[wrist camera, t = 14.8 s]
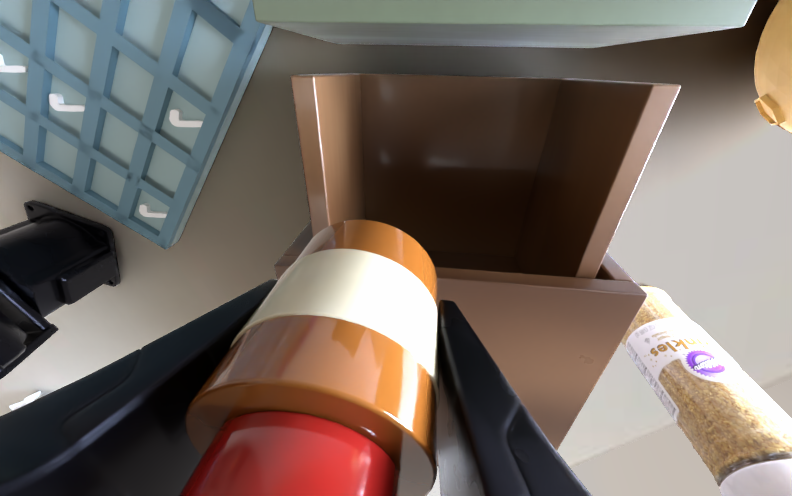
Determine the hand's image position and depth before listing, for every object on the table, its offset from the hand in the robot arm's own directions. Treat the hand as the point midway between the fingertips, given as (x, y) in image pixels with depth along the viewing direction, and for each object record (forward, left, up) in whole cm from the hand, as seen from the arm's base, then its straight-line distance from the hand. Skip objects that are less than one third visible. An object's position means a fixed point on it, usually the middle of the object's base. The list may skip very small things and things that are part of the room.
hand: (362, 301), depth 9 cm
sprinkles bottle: (+20, -3, -13) cm, 24 cm away
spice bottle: (0, 0, -1) cm, 1 cm away
